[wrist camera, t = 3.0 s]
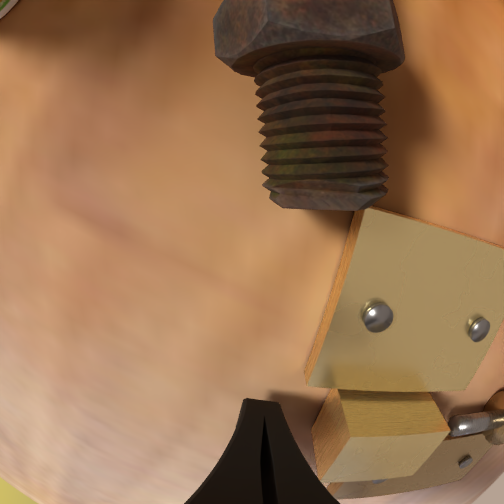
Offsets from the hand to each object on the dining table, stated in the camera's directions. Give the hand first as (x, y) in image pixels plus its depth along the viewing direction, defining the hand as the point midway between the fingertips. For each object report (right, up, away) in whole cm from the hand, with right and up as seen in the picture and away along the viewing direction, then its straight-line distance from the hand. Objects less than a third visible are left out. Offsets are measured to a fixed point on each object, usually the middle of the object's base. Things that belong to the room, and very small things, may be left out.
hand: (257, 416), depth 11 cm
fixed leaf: (+11, -5, +2) cm, 12 cm away
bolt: (+1, +16, -3) cm, 16 cm away
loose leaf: (+6, +2, 0) cm, 6 cm away
